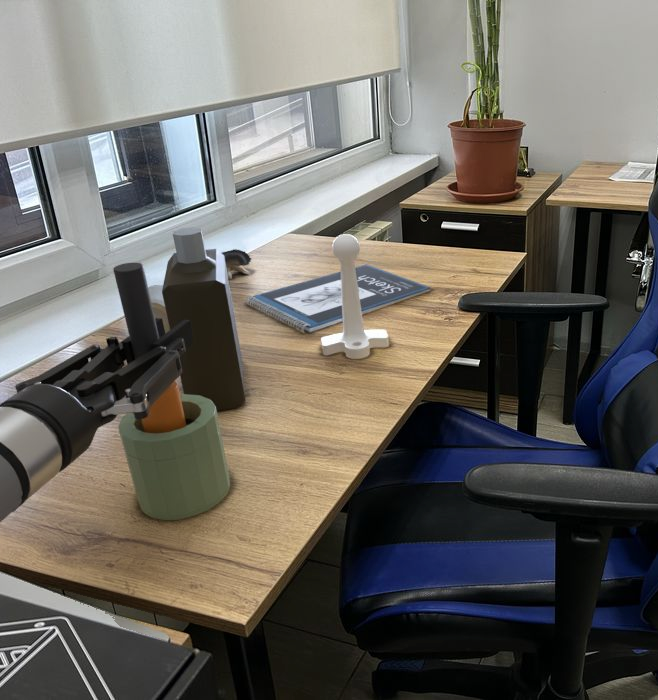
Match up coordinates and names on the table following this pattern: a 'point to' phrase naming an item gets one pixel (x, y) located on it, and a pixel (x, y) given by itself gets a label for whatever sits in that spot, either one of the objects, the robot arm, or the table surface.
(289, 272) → the table surface
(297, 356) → the table surface
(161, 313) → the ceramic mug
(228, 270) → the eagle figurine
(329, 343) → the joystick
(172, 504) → the sage green tumbler
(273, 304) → the sketchbook
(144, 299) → the brush
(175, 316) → the bottle
